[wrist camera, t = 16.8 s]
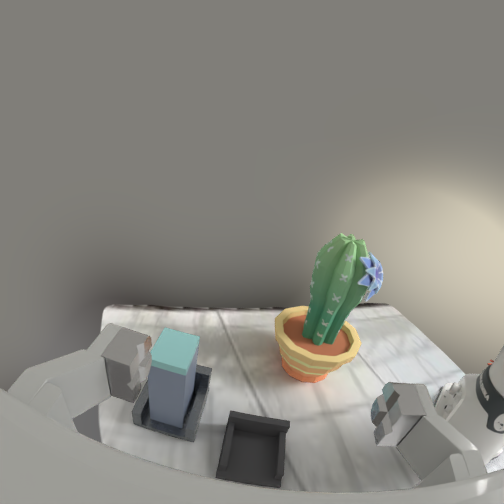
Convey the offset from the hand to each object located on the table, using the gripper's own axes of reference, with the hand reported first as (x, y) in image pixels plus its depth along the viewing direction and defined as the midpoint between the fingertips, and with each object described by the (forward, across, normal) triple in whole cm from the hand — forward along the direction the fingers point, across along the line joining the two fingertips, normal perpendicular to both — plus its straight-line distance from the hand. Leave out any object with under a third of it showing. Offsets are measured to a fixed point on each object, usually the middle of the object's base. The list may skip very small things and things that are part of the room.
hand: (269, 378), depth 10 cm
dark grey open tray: (+14, -4, +30) cm, 33 cm away
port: (+19, +8, +30) cm, 36 cm away
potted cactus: (+35, -11, +30) cm, 47 cm away
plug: (+18, +8, +29) cm, 36 cm away
